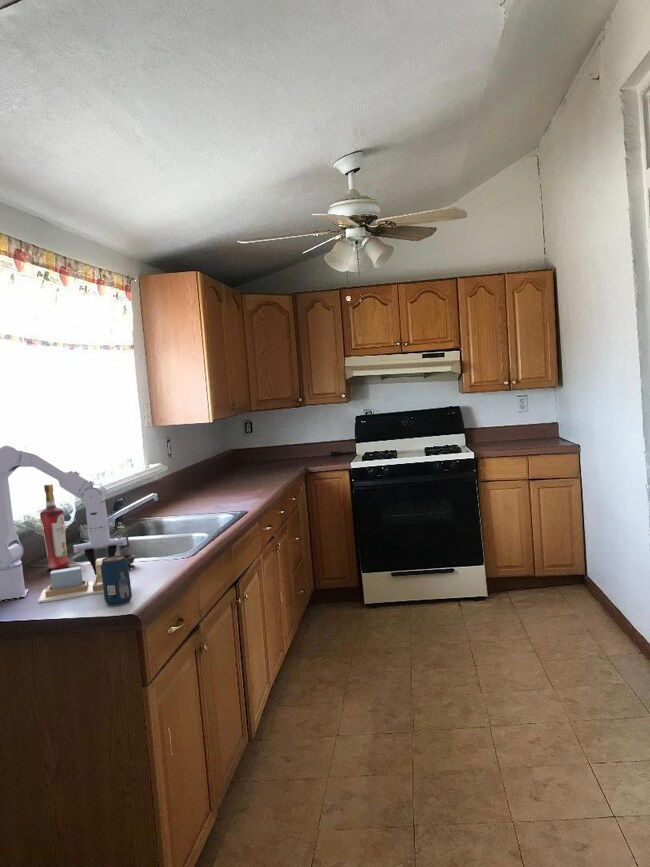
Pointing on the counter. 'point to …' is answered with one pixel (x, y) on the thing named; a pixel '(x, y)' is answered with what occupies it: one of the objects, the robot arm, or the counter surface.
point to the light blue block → (66, 578)
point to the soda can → (116, 580)
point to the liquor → (54, 532)
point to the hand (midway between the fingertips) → (103, 573)
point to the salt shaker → (126, 551)
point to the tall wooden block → (99, 569)
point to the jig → (71, 591)
